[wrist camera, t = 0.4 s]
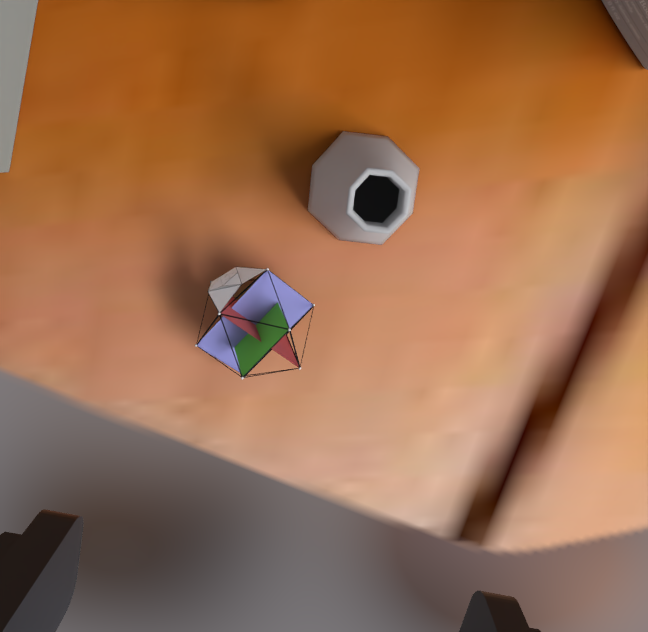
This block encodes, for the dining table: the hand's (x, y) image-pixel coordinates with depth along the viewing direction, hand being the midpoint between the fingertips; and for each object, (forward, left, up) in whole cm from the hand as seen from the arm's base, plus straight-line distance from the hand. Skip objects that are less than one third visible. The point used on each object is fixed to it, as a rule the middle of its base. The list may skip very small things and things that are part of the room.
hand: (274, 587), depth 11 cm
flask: (-7, +2, -28) cm, 29 cm away
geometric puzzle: (+3, -2, -28) cm, 29 cm away
